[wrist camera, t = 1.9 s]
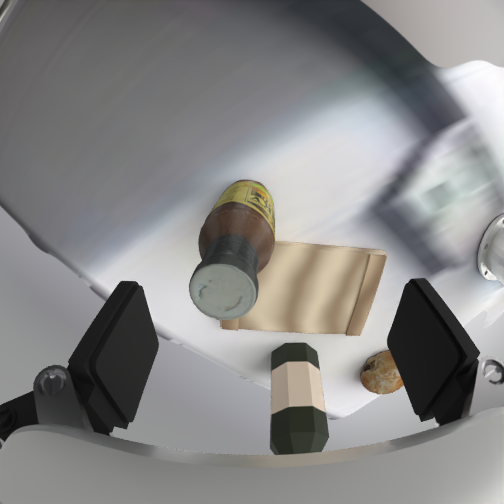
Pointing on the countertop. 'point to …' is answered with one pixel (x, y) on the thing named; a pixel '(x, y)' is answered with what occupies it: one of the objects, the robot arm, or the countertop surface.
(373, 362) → the bread roll
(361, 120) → the countertop surface
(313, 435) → the wine bottle
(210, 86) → the countertop surface
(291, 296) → the board
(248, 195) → the sauce bottle
